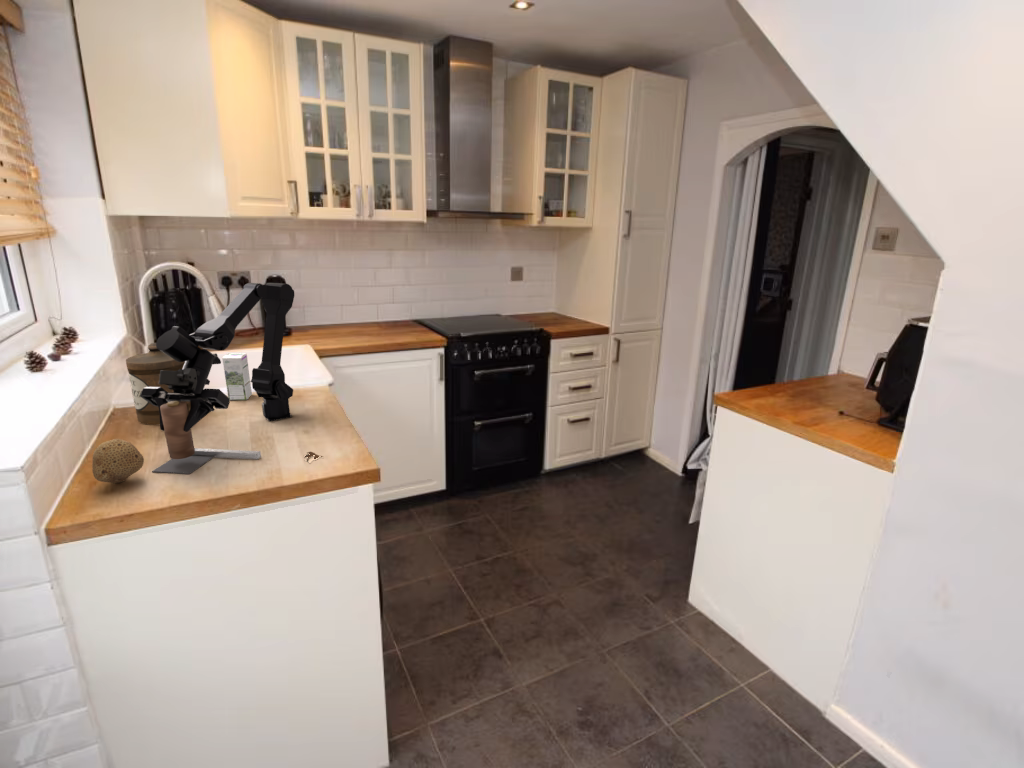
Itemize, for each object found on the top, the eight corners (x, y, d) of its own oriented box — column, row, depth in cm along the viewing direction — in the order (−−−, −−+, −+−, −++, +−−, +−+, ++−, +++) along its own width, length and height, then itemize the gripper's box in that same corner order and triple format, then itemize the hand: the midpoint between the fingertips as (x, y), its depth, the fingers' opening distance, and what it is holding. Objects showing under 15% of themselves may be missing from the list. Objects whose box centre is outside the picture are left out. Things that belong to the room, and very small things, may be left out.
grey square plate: (213, 457, 132) (213, 456, 132) (189, 474, 123) (189, 473, 123) (178, 456, 132) (178, 454, 132) (152, 472, 124) (152, 471, 124)
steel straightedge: (261, 456, 133) (260, 451, 132) (257, 459, 131) (257, 453, 131) (191, 453, 134) (190, 447, 134) (187, 456, 133) (186, 450, 132)
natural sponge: (154, 471, 124) (146, 431, 121) (134, 490, 116) (125, 447, 113) (111, 473, 123) (102, 433, 120) (88, 492, 114) (77, 449, 112)
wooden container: (136, 414, 160) (121, 341, 154) (192, 404, 169) (181, 336, 162) (139, 429, 149) (123, 352, 142) (200, 418, 157) (188, 345, 151)
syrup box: (252, 394, 179) (247, 352, 174) (246, 400, 173) (240, 356, 169) (234, 395, 178) (228, 352, 174) (227, 401, 172) (221, 357, 168)
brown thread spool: (193, 448, 131) (184, 397, 127) (196, 455, 127) (187, 403, 123) (168, 453, 128) (158, 401, 124) (171, 461, 124) (160, 408, 120)
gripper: (137, 353, 125) (110, 415, 117) (215, 355, 123) (193, 418, 116) (166, 376, 134) (143, 434, 127) (238, 378, 133) (219, 437, 126)
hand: (173, 430), depth 124 cm, fingers closed on brown thread spool, 5 cm apart
